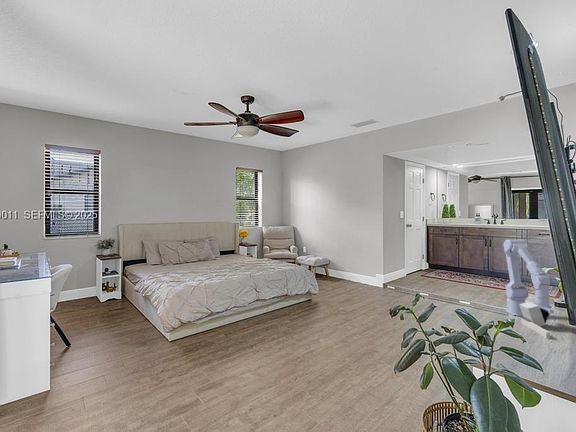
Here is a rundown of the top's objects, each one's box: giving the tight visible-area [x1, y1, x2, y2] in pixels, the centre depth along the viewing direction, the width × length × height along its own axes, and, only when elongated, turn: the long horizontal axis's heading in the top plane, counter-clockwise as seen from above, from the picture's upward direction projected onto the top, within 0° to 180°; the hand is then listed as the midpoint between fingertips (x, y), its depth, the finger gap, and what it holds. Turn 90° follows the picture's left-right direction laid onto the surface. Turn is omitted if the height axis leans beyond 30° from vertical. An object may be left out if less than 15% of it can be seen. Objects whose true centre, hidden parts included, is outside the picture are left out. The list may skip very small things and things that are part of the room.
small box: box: [519, 301, 546, 327], centre depth 161 cm, size 8×6×10 cm
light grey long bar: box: [519, 316, 551, 339], centre depth 154 cm, size 21×2×3 cm, turn 171°
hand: (542, 322), depth 160 cm, fingers closed, pressing on small box
